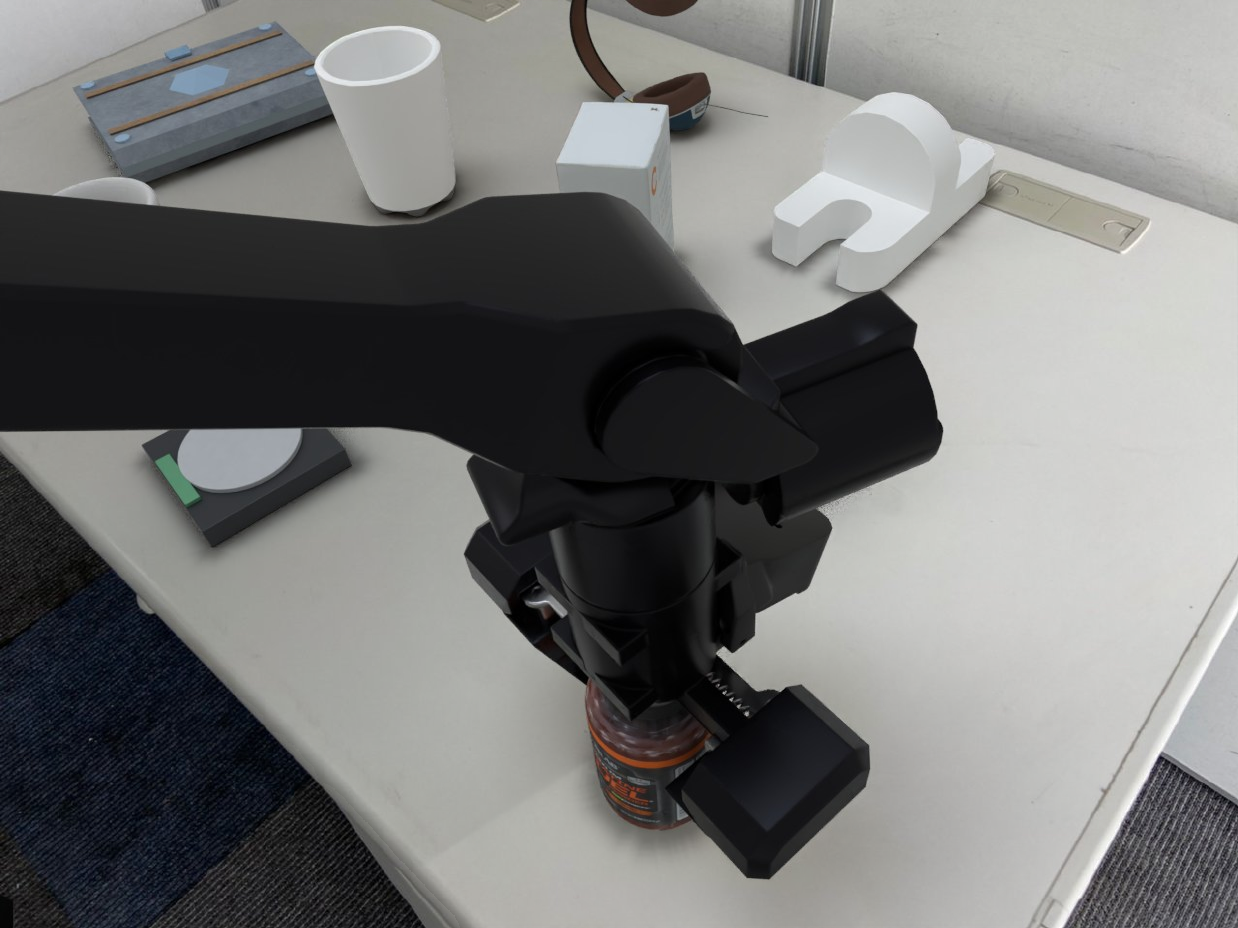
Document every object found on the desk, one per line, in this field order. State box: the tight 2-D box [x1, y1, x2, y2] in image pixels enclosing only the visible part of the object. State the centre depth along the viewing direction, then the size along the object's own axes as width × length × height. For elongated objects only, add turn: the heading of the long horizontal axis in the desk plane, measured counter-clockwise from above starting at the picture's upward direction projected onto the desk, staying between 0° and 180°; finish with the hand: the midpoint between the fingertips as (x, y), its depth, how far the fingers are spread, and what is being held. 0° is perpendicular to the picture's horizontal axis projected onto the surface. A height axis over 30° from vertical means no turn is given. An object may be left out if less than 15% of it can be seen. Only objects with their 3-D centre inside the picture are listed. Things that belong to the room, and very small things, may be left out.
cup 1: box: [52, 176, 161, 206], centre depth 74 cm, size 13×9×9 cm
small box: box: [554, 101, 675, 252], centre depth 70 cm, size 8×6×13 cm
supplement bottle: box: [584, 678, 719, 832], centre depth 44 cm, size 6×6×11 cm
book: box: [72, 20, 334, 184], centre depth 95 cm, size 21×16×5 cm
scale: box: [141, 428, 352, 548], centre depth 64 cm, size 10×10×2 cm
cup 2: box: [314, 25, 456, 218], centre depth 81 cm, size 10×10×13 cm
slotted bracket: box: [771, 91, 996, 293], centre depth 74 cm, size 18×10×10 cm, turn 137°
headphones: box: [568, 0, 769, 131], centre depth 85 cm, size 6×15×22 cm
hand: (660, 742), depth 46 cm, fingers closed on supplement bottle, 7 cm apart
